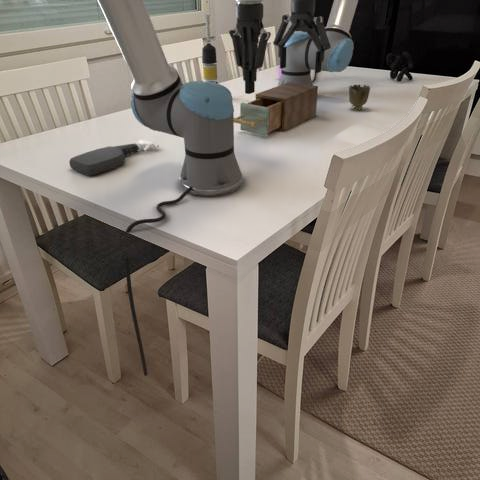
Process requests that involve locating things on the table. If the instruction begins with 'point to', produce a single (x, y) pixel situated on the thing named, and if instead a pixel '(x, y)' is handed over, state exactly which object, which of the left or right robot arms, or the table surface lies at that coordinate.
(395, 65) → the squiggle
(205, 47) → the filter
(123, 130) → the table surface
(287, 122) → the cabinet
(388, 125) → the table surface
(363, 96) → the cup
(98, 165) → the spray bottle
